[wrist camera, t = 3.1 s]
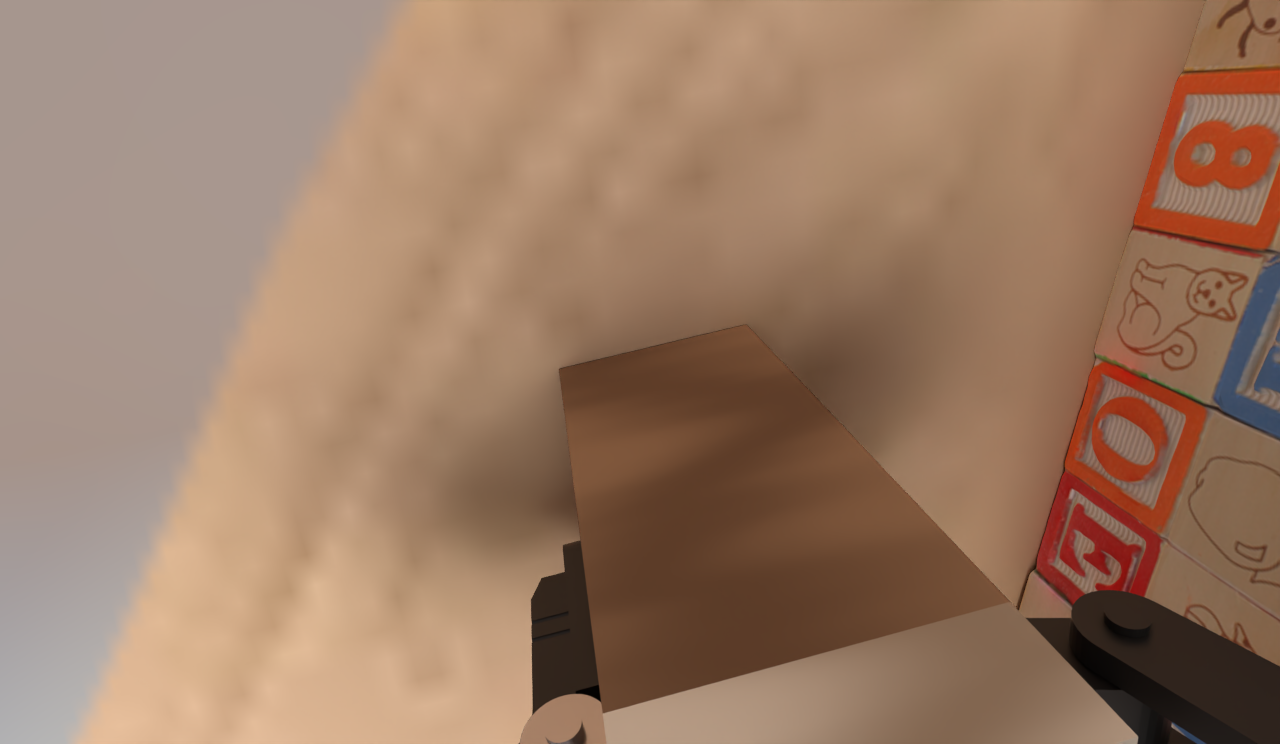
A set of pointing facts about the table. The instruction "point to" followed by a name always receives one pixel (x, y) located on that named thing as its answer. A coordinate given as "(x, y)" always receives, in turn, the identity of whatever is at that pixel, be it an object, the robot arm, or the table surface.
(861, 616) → the walnut block
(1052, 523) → the stack of blocks
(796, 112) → the table surface
